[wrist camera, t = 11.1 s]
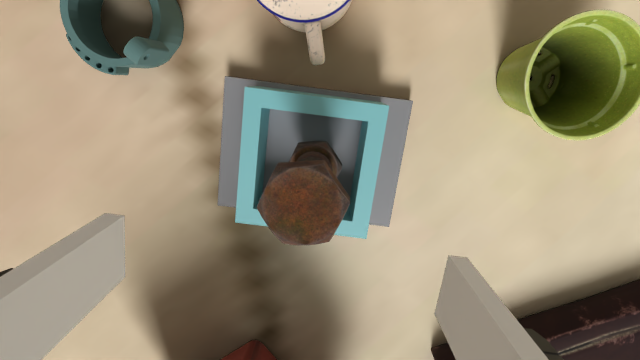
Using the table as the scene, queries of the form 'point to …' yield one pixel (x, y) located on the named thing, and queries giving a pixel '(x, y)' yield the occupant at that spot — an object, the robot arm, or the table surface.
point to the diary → (587, 327)
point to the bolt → (305, 196)
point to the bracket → (91, 45)
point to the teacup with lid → (309, 19)
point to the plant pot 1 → (251, 352)
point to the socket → (311, 125)
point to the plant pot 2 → (577, 75)
